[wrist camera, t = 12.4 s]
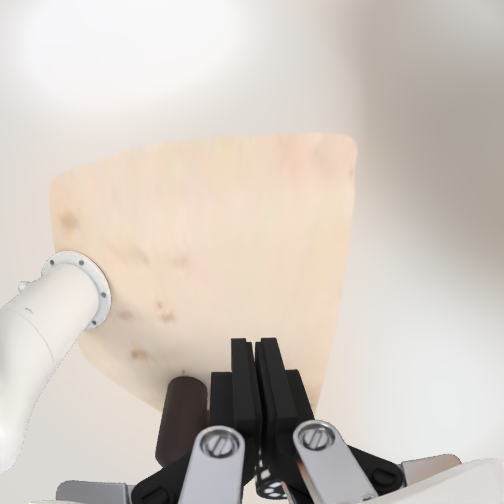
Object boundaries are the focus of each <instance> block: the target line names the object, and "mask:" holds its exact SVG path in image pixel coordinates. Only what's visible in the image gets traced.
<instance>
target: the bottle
mask: <svg viewBox="0 0 504 504" xmlns="http://www.w3.org/2000/svg"><path fill="white" fill-rule="evenodd" d="M206 415H207V389H206V387H205V386H204V384H203V383H201V382H200V381H199V380H196V379H194V378H190V377H179V378H176V379H174V380H172V381H171V382H170V384H169V385H168V389H167V394H166V399H165V404H164V409H163V414H162V419H161V425H160V430H159V435H158V441H157V446H156V452H155V457H156V460H157V461H158V463H159V464H160V465H161V466H162V467H163V468H165V467H166V466H168V465H170V464H171V463H173V462H175V461H176V460H178V459H179V458H181V457H182V456H184V455H185V454H187V453H189V452H190V451H192V450H193V446H194V442H195V439H196V437H197V435H198V434H199V433H200V432H201V431H202V430H204V429H206ZM163 468H162V469H163ZM162 469H161V470H162Z"/></svg>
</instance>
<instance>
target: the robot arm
mask: <svg viewBox="0 0 504 504" xmlns="http://www.w3.org/2000/svg"><path fill="white" fill-rule="evenodd" d="M83 261H84V262H83ZM18 289H19V292H20V293H19V294H18V295H17V296H16V297H14V298H13V299H12V300H11V301H10V302H8V303H7V304H6V305H5V306H4V307H2V308H1V309H0V473H2V472H4V471H7V470H8V469H9V468H10V467H11V466H12V465H13V464H14V463H15V461H16V460H17V458H18V456H19V453H20V451H21V449H22V445H23V442H24V438H25V434H26V430H27V426H28V423H29V420H30V417H31V414H32V412H33V409H34V407H35V404H36V402H37V401H38V399H39V397H40V395H41V393H42V391H43V390H44V388H45V386H46V384H47V383H48V382H49V380H50V378H51V377H52V375H53V374H54V372H55V371H56V369H57V368H58V366H59V365H60V363H61V361H62V360H63V359H64V357H65V356H66V354H67V353H68V351H69V350H70V349H71V347H72V346H73V344H74V343H75V342H76V340H77V339H78V337H79V336H80V335H81V333H82V332H83V331H84V330H88V329H93V328H95V327H97V326H99V325H100V324H101V323H102V322H103V321H104V320H105V318H106V317H107V315H108V313H109V310H110V306H111V294H110V289H109V286H108V283H107V280H106V278H105V276H104V275H103V273H102V272H101V270H100V269H99V268H98V266H97V265H96V264H95V263H94V262H93V261H91V260H90V259H89V258H88V257H86V256H84V255H82V254H81V253H78V252H75V251H61V252H59V253H56V254H55V255H53V256H52V257H50V258H49V259H48V260H47V262H46V263H45V265H44V266H43V269H42V273H41V277H40V278H39V279H38V280H35V281H33V282H32V283H30V282H22V281H21V282H20V283H19V287H18ZM231 369H232V372H212V373H211V394H210V423H209V427H208V428H206V429H204V430H202V431H201V432H200V433H199V434H198V435H197V437H196V439H195V442H194V446H193V450H192V451H190V452H189V453H187V454H185V455H184V456H182V457H181V458H179V459H178V460H176V461H175V462H173V463H171V464H170V465H168V466H166V467H165V468H163V469H162V470H160V471H158V472H157V473H155V474H153V475H151V476H150V477H148V478H146V479H144V480H143V481H141V482H139V483H138V484H137V485H126V484H125V483H103V482H86V481H74V480H72V481H65V482H63V483H61V484H60V485H59V487H58V488H57V491H56V500H43V501H35V502H31V503H29V504H242V499H243V490H244V486H245V485H246V484H247V483H248V482H249V481H251V480H252V479H253V478H254V473H255V466H258V462H259V452H260V453H261V460H262V466H268V470H269V473H273V476H274V477H276V478H277V479H279V480H281V482H282V486H283V489H284V491H285V494H286V496H287V499H288V501H289V504H504V461H503V460H499V459H481V460H480V459H479V460H474V461H470V462H466V463H463V464H462V463H461V461H460V459H459V458H458V457H456V456H455V455H452V454H443V455H438V456H433V457H428V458H423V459H417V460H410V461H403V462H402V463H401V464H398V465H396V464H394V463H392V462H390V461H387V460H385V459H382V458H379V457H376V456H374V455H371V454H369V453H366V452H364V451H361V450H359V449H357V448H354V447H352V446H349V445H347V444H346V443H345V442H344V440H343V439H342V436H341V435H340V433H339V432H338V430H337V429H336V428H335V427H334V426H333V425H332V424H330V423H328V422H325V421H322V420H315V418H314V415H313V412H312V409H311V406H310V403H309V400H308V397H307V394H306V391H305V388H304V386H303V383H302V380H301V377H300V374H299V371H298V370H297V369H295V370H285V368H284V365H283V361H282V357H281V354H280V350H279V347H278V343H277V339H276V338H261V342H256V343H255V362H254V356H253V349H252V342H246V338H231Z"/></svg>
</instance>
